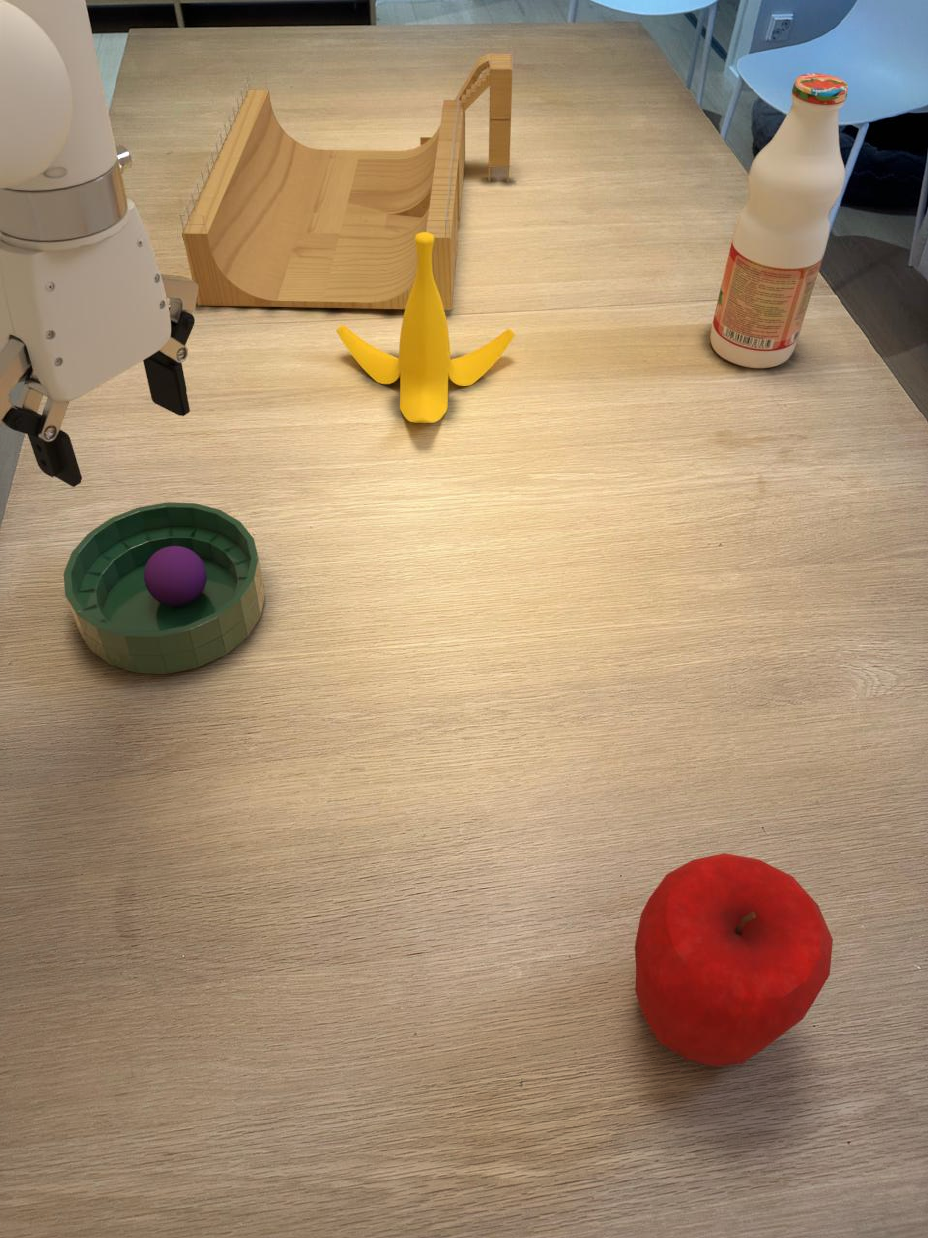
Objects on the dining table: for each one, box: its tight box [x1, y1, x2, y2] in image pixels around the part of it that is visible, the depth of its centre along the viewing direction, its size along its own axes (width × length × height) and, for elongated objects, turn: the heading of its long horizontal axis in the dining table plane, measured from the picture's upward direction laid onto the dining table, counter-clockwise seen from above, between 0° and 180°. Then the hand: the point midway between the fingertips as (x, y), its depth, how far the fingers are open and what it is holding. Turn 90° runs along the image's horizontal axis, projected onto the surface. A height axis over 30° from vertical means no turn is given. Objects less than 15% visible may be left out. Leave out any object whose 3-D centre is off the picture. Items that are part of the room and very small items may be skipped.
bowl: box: [63, 502, 266, 675], centre depth 84 cm, size 15×15×5 cm
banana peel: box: [336, 232, 516, 424], centre depth 100 cm, size 17×19×17 cm
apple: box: [634, 852, 834, 1068], centre depth 59 cm, size 11×10×14 cm
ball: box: [144, 546, 207, 607], centre depth 84 cm, size 5×5×5 cm
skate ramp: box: [179, 38, 514, 311], centre depth 125 cm, size 40×35×16 cm
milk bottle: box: [710, 72, 849, 369], centre depth 104 cm, size 9×9×28 cm
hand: (119, 441), depth 70 cm, fingers open, 9 cm apart
